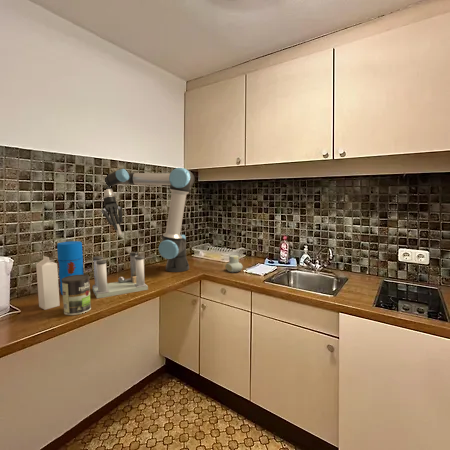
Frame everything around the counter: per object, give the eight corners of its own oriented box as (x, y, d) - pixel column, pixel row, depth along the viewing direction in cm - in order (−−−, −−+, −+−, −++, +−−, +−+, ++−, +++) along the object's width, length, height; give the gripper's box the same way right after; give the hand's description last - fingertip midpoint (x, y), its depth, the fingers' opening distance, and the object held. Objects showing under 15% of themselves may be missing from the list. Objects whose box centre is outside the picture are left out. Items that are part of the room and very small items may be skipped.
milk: (53, 303, 128) (50, 254, 126) (59, 305, 125) (57, 256, 123) (38, 307, 123) (35, 256, 122) (44, 310, 120) (41, 258, 118)
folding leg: (138, 278, 158) (137, 251, 157) (140, 280, 154) (139, 252, 153) (117, 281, 153) (116, 253, 152) (119, 283, 149) (117, 255, 148)
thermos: (60, 297, 136) (57, 245, 133) (59, 291, 145) (56, 242, 142) (85, 293, 141) (83, 243, 139) (83, 287, 150) (80, 240, 148)
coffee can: (96, 306, 123) (94, 274, 122) (79, 316, 113) (77, 281, 112) (75, 305, 125) (73, 273, 124) (57, 314, 115) (55, 280, 114)
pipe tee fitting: (244, 272, 179) (244, 256, 178) (234, 274, 174) (233, 258, 173) (234, 268, 188) (233, 253, 187) (223, 270, 183) (223, 255, 182)
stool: (139, 281, 160) (138, 251, 158) (147, 289, 146) (146, 256, 144) (92, 289, 147) (90, 256, 145) (97, 298, 133) (95, 262, 132)
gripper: (116, 198, 180) (127, 234, 178) (95, 201, 171) (107, 238, 169) (120, 194, 174) (132, 230, 173) (99, 197, 165) (111, 235, 164)
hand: (120, 234), depth 171 cm, fingers closed
